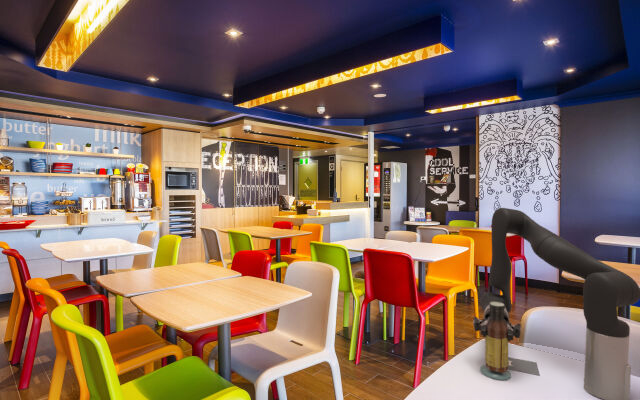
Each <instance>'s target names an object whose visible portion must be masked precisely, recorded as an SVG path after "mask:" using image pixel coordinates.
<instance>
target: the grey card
mask: <svg viewBox="0 0 640 400" xmlns="http://www.w3.org/2000/svg"><path fill="white" fill-rule="evenodd" d="M537 363H538V362H536V361H530V360H525V359H520V358H514V357H509V356H508V370H509V371H513V372H514V371H515V372H521V373H525V374H529V375H533V376H534V375H535V376H539V377H540V376H541V375H540V370H539V366H538V364H537Z"/></svg>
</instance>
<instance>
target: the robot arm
mask: <svg viewBox="0 0 640 400" xmlns="http://www.w3.org/2000/svg"><path fill="white" fill-rule="evenodd" d="M508 234H511V235H516V236H519V237H520V238H522V239H524V240H526V241H527V242H528V243H529V245H530V247H531V249H532V251H533V253H534V254H535V255H536V256H537V257H538V258H539V259H541V260H542V261H543V262H545V263H547V264H548V265H550V266H551V267H553V268H555V269H557V270H560V271H561V272H565V273H567V274H570V275H574V276H576V277H579V278H582V279H583V280H584V282H583V285H582V286H583V287H582V288H583V289H582V294H583V295H582V299H583V302H582V303H583V305H582V306H583V316H584V320H585V323H586V327H585V328H586V329H585V330H586V332H585V333H586V334H585V350H584V352H585V354H584V355H585V356H584V377H583V388H584V390H585V391H586V392H587V393H588V394H590V395H592V396H594V397H596V398H599V399H602V400H630V398H631V397H630V393H631V376H632V375H631V374H632V372H631V371H632V368H631V367H632V366H631V365H630V364H629V354H630V353H629V350H630V334H631V333H630V331H631V329H630V325H629V324H628V323H627V322H626V321H624V320H622V319H619V318H618V308H621V307H628V306H632V305H634V304H636V303H638V302H639V301H640V286H639V285H638V283H637V282H636V280H634V279H633V278H632V277H631V276H630V275H628V274H626V273H624V272H623V271H621V270H619V269H616V268H614V267H612V266H610V265H608V264H606V263H604V262H603V261H600V260H599V259H597V258H595V257H593V256H592V255H590V254H588V253H587V252H585V251H584V250H582V249H581V248H579V247H577V246H576V245H574V244H573V243H570V242H569V241H568V240H566V239H565V238H563V237H561V236H560V235H558V234H556V233H554V232H552V231H551V230H549V229H547V228H546V227H544V226H541V225H540V224H539V223H537V222H536V221H535V220H533V219H532V218H531V217H530V216H529V215H527V214H526V213H525V212H524V211H521V210H519V209H513V208H508V207H507V208H506V207H499V208H497V209H496V210H494V212H493V215H492V219H491V263H490V264H491V265H490V270H489V271H490V272H489V277H488V284H489V286H491V287H493V288H495V289H498V291H499V290H500V292H501V293H502V294H499V293H494V292H489V291H487V292H486V291H485V292H484V293H482V295H481V296H480V302H479V304H480V307H481V309H482V311H483V318H482V319H480V318H479V317H477V316H473V322H472V325H473V327H474V328H473V329H474V331H475V332H479V331H480V335H481V336H482V337H483V338H485V337H486V324H487V322H488V320H489V318H490V307H489V306H490V303H491V302H500V303H503V304H504V306H505V309H504V320H505V322H506V324H507V326H508V342H512V341H514V337H515V338H516V339H520V336H521V333H522V324H521V323H516V324H512V323H511V322H510V317H509V314H510V313H511V311H512V309H513V307H512V299H511V292H510V284H511V277H512V269H513V268H512V261H511V258H510V256H509V255H510V254H509V253H508V250H507V249H508V248H507V244H506V242H507V241H506V240H507V235H508Z"/></svg>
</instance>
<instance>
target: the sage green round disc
mask: <svg viewBox="0 0 640 400" xmlns="http://www.w3.org/2000/svg"><path fill="white" fill-rule="evenodd" d="M479 369H480V370H479V371H480V372H481V374H482V375H484V376H485V377H487V378H489V379H492V380H496V381H509V380H510V379H511V378H512V372H511V370H509V369H508V370H507V371H506V372H502V373H499V372H495V371H492V370H490V369H488V368H487V366H486V364H483V365H481V366H480V368H479Z"/></svg>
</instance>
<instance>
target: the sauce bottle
mask: <svg viewBox="0 0 640 400" xmlns="http://www.w3.org/2000/svg"><path fill="white" fill-rule="evenodd" d="M489 307H490V318H489V320H488V322H487V324H486V337H484V338H485V342H484V343H485V347H484V348H485V351H484V352H485V354H484V355H485V357H484V358H485V359H484V361H485V365H486V366H487V368H488V369H490V370H492V371H495V372H499V373H502V372H506V371H507V370H508V371H509V369H508V357H509V341H508V326H507V324H506V322H505V320H504V309H505V306H504V304H503V303H500V302H491V303H490V306H489Z"/></svg>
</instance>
